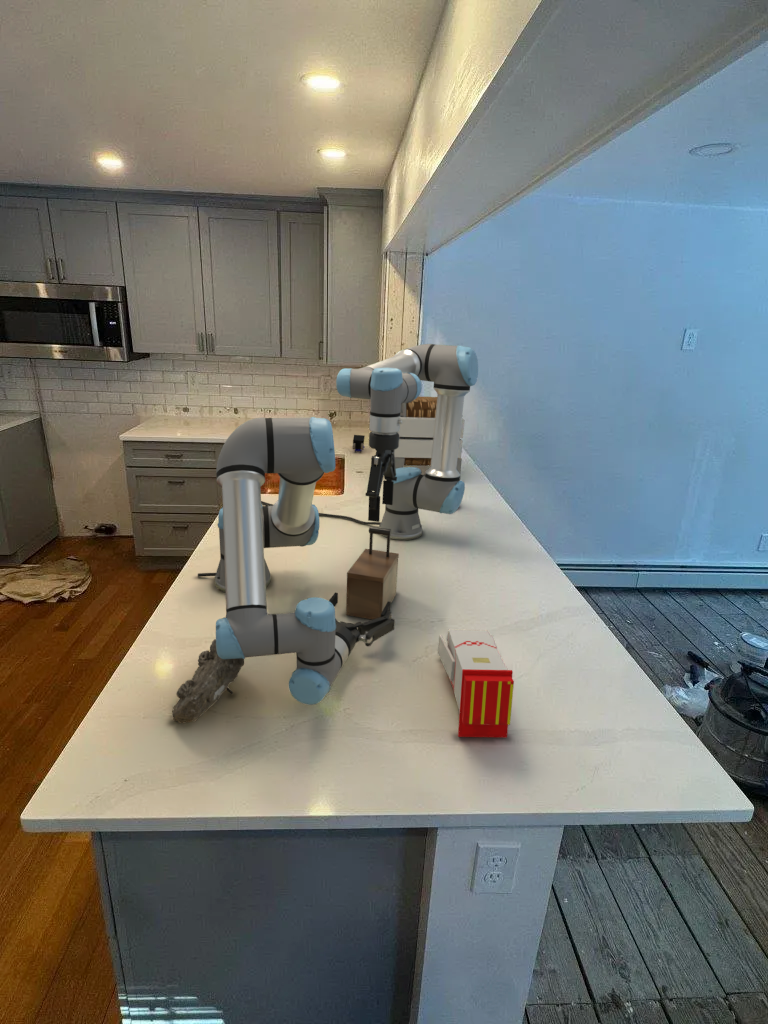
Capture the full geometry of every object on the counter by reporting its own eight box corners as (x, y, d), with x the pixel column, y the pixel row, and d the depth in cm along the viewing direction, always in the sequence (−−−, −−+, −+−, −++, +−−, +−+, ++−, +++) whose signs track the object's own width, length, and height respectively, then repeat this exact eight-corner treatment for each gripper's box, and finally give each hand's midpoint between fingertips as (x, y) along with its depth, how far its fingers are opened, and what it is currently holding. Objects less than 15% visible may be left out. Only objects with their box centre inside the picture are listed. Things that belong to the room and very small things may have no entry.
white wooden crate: (382, 463, 289) (386, 382, 275) (445, 464, 293) (451, 384, 279) (390, 482, 257) (394, 392, 243) (460, 483, 261) (468, 394, 247)
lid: (365, 552, 157) (366, 521, 154) (398, 557, 155) (400, 526, 152) (346, 577, 142) (347, 543, 139) (383, 582, 140) (385, 548, 137)
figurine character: (364, 456, 306) (364, 446, 320) (364, 442, 303) (365, 433, 317) (351, 455, 306) (352, 446, 320) (352, 442, 303) (353, 433, 316)
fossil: (195, 641, 124) (244, 609, 119) (226, 670, 127) (274, 640, 122) (149, 717, 105) (205, 683, 100) (186, 749, 107) (242, 718, 102)
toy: (488, 613, 130) (523, 677, 101) (484, 667, 133) (517, 744, 104) (435, 612, 130) (455, 676, 101) (432, 666, 133) (451, 743, 103)
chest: (363, 588, 160) (364, 553, 156) (396, 593, 158) (398, 558, 154) (346, 615, 146) (346, 577, 142) (381, 621, 144) (383, 583, 140)
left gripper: (279, 652, 125) (315, 606, 144) (388, 674, 119) (410, 624, 138) (278, 622, 122) (315, 580, 142) (390, 643, 116) (412, 596, 136)
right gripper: (386, 443, 129) (382, 530, 136) (409, 424, 152) (405, 499, 159) (354, 440, 131) (352, 526, 138) (382, 422, 153) (379, 496, 161)
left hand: (362, 601), depth 140 cm, fingers open, 13 cm apart
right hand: (380, 512), depth 148 cm, fingers open, 13 cm apart
